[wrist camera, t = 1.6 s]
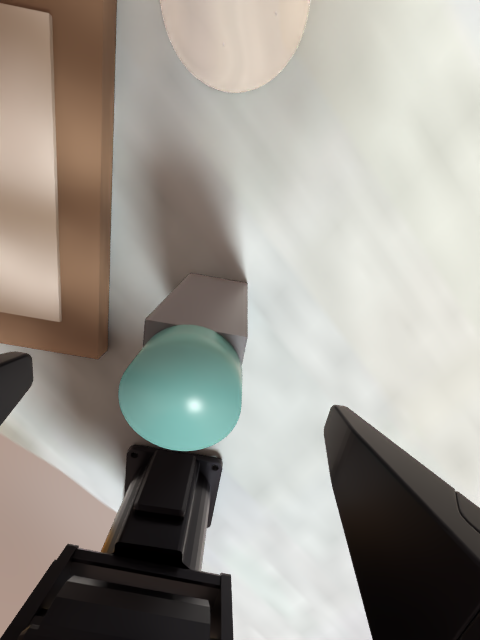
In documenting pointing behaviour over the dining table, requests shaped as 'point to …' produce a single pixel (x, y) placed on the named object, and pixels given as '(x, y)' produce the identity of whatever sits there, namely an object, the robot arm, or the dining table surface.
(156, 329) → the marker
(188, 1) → the metal tumbler
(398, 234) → the dining table surface
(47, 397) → the dining table surface
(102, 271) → the wooden tray
